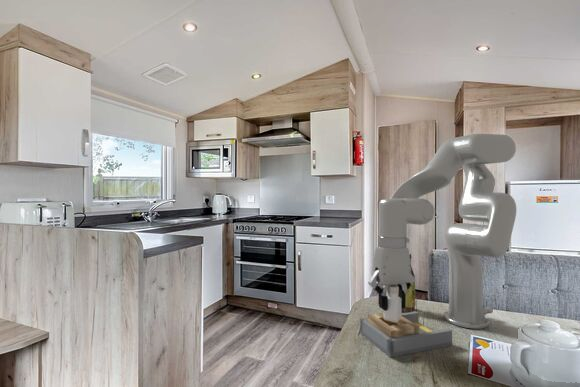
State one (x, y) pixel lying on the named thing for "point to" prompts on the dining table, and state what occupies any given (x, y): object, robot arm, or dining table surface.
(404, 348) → the tray
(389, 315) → the salt shaker
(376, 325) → the shaker cabinet door
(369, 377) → the dining table surface
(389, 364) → the dining table surface
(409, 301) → the sauce bottle
